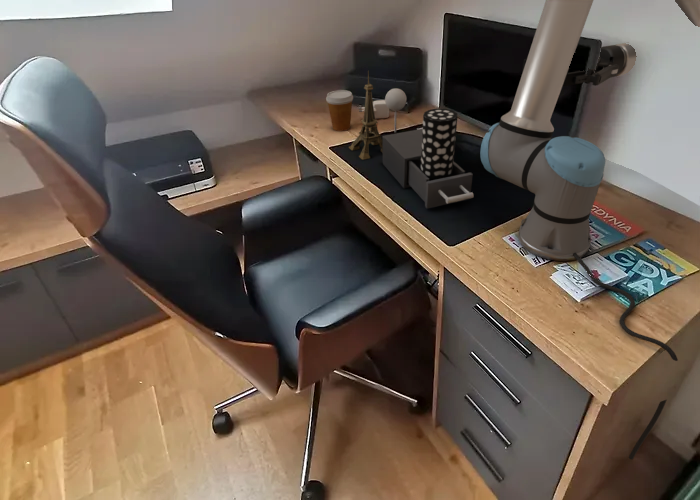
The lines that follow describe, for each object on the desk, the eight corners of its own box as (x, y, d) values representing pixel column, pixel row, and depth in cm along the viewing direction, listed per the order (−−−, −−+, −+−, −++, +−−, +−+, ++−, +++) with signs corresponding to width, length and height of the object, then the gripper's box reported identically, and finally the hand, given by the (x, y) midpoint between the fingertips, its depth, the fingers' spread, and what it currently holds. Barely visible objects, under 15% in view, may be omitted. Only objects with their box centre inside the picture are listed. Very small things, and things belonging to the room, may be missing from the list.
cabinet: (447, 179, 132) (450, 149, 127) (403, 188, 129) (404, 158, 124) (422, 155, 145) (424, 128, 139) (382, 163, 142) (382, 135, 136)
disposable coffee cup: (338, 120, 172) (336, 88, 164) (359, 125, 167) (358, 92, 160) (322, 129, 166) (320, 96, 158) (344, 134, 161) (342, 100, 154)
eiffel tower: (362, 160, 145) (359, 78, 130) (348, 147, 152) (344, 69, 137) (392, 152, 148) (392, 72, 133) (377, 140, 156) (376, 63, 141)
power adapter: (359, 121, 170) (359, 105, 167) (358, 116, 174) (357, 100, 171) (389, 118, 171) (389, 103, 167) (387, 114, 175) (387, 98, 171)
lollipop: (409, 130, 161) (410, 87, 152) (399, 137, 157) (400, 93, 148) (391, 126, 165) (391, 84, 156) (381, 134, 160) (381, 90, 151)
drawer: (481, 209, 117) (484, 184, 113) (436, 220, 114) (438, 194, 110) (442, 173, 133) (444, 150, 129) (402, 181, 131) (403, 158, 126)
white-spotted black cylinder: (413, 187, 125) (416, 116, 113) (431, 175, 130) (436, 106, 118) (439, 197, 121) (445, 123, 109) (456, 184, 125) (464, 113, 113)
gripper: (649, 91, 108) (572, 104, 103) (576, 64, 127) (508, 74, 122) (660, 57, 103) (580, 70, 99) (583, 34, 122) (513, 44, 118)
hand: (540, 72), depth 110 cm, fingers open, 13 cm apart
